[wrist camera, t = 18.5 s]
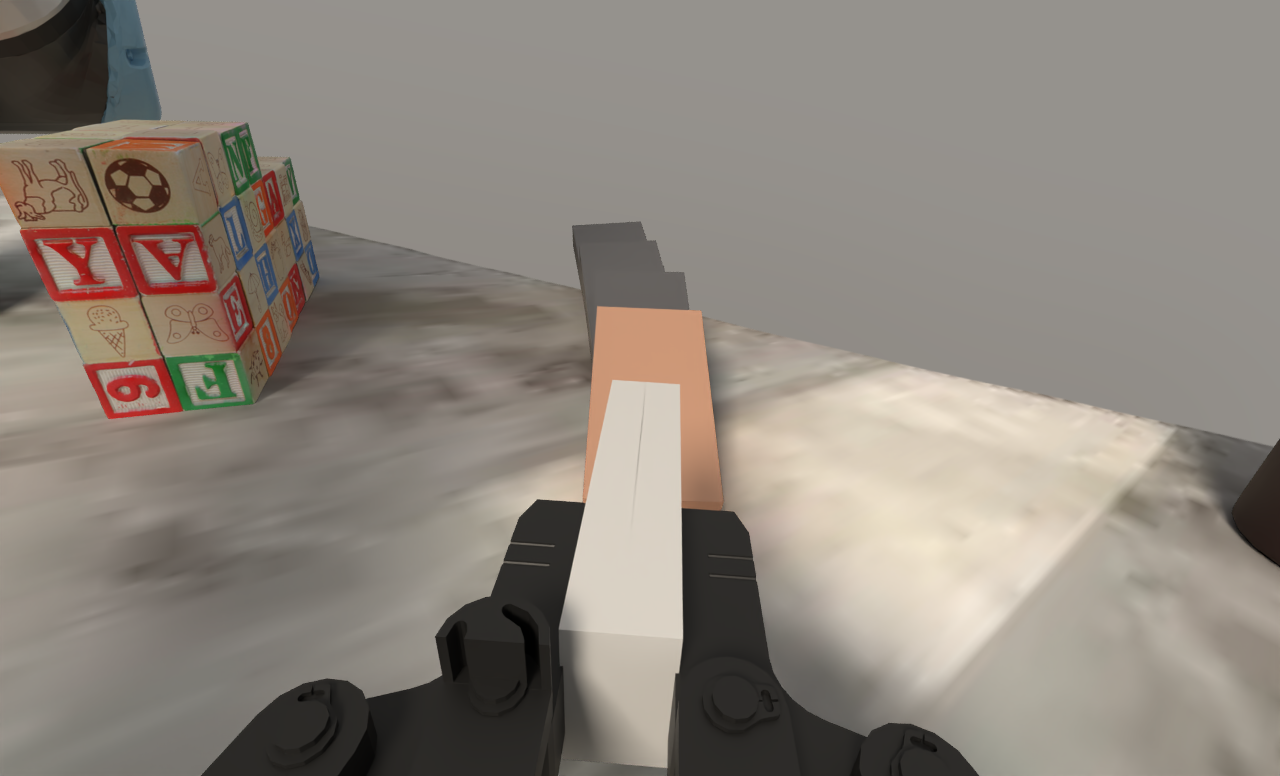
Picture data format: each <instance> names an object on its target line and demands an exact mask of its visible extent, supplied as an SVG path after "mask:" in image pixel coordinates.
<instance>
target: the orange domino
mask: <svg viewBox="0 0 1280 776" xmlns="http://www.w3.org/2000/svg"><path fill="white" fill-rule="evenodd" d="M612 380H623V381H638V382H653V383H668V384H680V431H681V508H689V509H703V510H717V511H721V509H722V506H723V502H724V501H723V493H722V484H721V476H720V467H719V459H718V450H717V441H716V433H715V424H714V416H713V407H712V399H711V390H710V381H709V373H708V364H707V356H706V347H705V339H704V330H703V321H702V313H701V311H695V310H672V309H649V308H625V307H602V306H597V317H596V330H595V343H594V357H593V370H592V383H591V396H590V410H589V423H588V436H587V449H586V463H585V476H584V489H583V503H586V500H587V495H588V491H589V486H590V481H591V477H592V472H593V468H594V463H595V458H596V454H597V449H598V444H599V440H600V435H601V431H602V426H603V421H604V417H605V412H606V407H607V403H608V398H609V394H610V389H611V384H612Z"/></svg>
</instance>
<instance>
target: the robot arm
mask: <svg viewBox="0 0 1280 776" xmlns="http://www.w3.org/2000/svg"><path fill="white" fill-rule="evenodd" d="M160 119H161V106H160V102H159V97H158V94H157V89H156V85H155V81H154V77H153V73H152V69H151V65H150V61H149V57H148V53H147V48H146V44H145V39H144V35H143V31H142V27H141V23H140V18H139V14H138V10H137V5H136V2H135V0H0V134H54V133H59V132H64V131H71V130H73V129H74V128H78V127H84V126H88V125H94V124H102V123H107V122H112V121H117V120H160ZM435 638H436V643H437V648H438V654H439V659H440V665H441V670H442V676H440V677H439V678H437V679H435V680H433V681H431V682H430V683H427V684H424V685H421V686H418V687H415V688H411V689H407V690H403V691H398V692H394V693H389V694H385V695H381V696H376V697H372V698H368V699H365V696H364V694H363V691H362V690H360V689H359V688H357V687H356V686H354V685H353V684H351V683H350V682H348V681H343V680H335V679H323V680H318V681H314V682H309V683H304V684H302V685H300V686H298V687H296V688H294V689H292V690H290V691H288V692H286V693H284V694H282V695H280V696H279V697H278V698H276V699H275V700H274V701H273V702H272V703H271V704H269V705H268V706H267V707H266V708H265V709H263V710H262V711H261V712H260V713H259V714H258V715H257V716H256V717H255V718H254V719H253V720H252V721H251V722H250V723H249V724H248V725H247V726H246V728H245V729H244V730H243V731H242V732H241V733H240V734H239V735H238V736H237V737H236V738H235V739H234V740H233V742H232V743H231V744H230V745H229V746H228V747H227V748H226V749H225V750H224V751H223V752H222V753H221V755H220V756H219V757H218V758H217V759H216V760H215V761H214V762H213V763H212V764H211V765H210V766H209V767H208V769H207V770H206V771H205V772H204V773H203V774H202V775H201V776H558V772H559V766H560V760H561V754H562V748H563V759H567V760H578V761H590V762H602V763H614V764H625V765H637V766H649V767H661V768H667V776H979V775H978V774H977V772H976V771H975V770H974V769H973V768H972V766H971V765H970V764H969V763H968V762H967V761H966V759H965V758H964V757H963V756H962V755H961V753H960V752H959V751H958V750H957V749H955V748H954V747H953V746H951V745H950V744H949V743H947V742H946V741H945V740H943V739H942V738H940V737H939V736H938V735H936V734H935V733H933V732H930V731H927V730H925V729H922V728H920V727H917V726H915V725H912V724H898V723H888V724H886V725H884V726H881V727H879V728H877V729H874V730H872V731H871V733H870V734H869V735H868V737H865V736H862V735H860V734H857V733H855V732H853V731H850V730H848V729H845V728H843V727H840V726H838V725H835V724H833V723H830V722H828V721H825V720H823V719H821V718H819V717H817V716H815V715H814V714H812V713H810V712H808V711H806V710H805V709H804V708H803V707H801V706H800V705H799V704H797V703H796V702H795V701H794V700H793V699H792V698H791V697H790V696H789V695H788V694H787V693H786V691H785V690H784V689H783V688H782V687H781V685H780V683H779V682H778V680H777V678H776V676H775V675H774V673H773V670H772V666H771V663H770V659H769V654H768V648H767V642H766V635H765V629H764V623H763V617H762V611H761V604H760V598H759V592H758V586H757V582H756V573H755V567H754V561H753V555H752V549H751V543H750V536H749V532H748V531H747V529H746V528H745V527H744V525H743V524H742V522H741V521H740V520H739V518H738V517H737V515H736V514H735V513H734V512H730V511H717V510H703V509H689V508H681V431H680V384H668V383H653V382H638V381H623V380H612V384H611V389H610V394H609V398H608V403H607V407H606V412H605V417H604V421H603V426H602V431H601V435H600V440H599V444H598V449H597V454H596V458H595V463H594V468H593V472H592V477H591V481H590V486H589V491H588V495H587V500H586V503H580V502H566V501H552V500H539V499H537V500H536V501H535V502H534V503H533V504H532V505H531V506H530V507H529V508H528V509H527V510H526V511H525V512H524V513H523V514H522V515H521V516H520V517H519V519H518V522H517V525H516V528H515V530H514V533H513V536H512V539H511V544H510V545H509V547H508V550H507V552H506V555H505V558H504V563H503V564H502V566H501V569H500V572H499V574H498V577H497V580H496V583H495V585H494V588H493V591H492V594H491V596H490V597H485V598H482V599H479V600H477V601H474V602H472V603H469V604H466V605H464V606H463V607H462V608H461V609H459V610H458V611H457V612H455V613H454V614H453V615H451V616H450V617H449V618H447V620H446V621H445V623H444V624H443V626H442V627H441V629H440V630H439V632H438V633H437V635H436V636H435Z"/></svg>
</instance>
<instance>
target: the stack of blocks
mask: <svg viewBox="0 0 1280 776" xmlns="http://www.w3.org/2000/svg"><path fill="white" fill-rule="evenodd" d="M0 186H1V189H2V191H3V193H4V195H5V197H6V199H7V202H8V204H9V206H10V208H11V210H12V212H13V214H14V216H15V218H16V220H17V222H18V223H19V225H20V226H21V230H20V233H21V236H22V238H23V240H24V242H25V245H26V247H27V249H28V251H29V254H30V256H31V258H32V260H33V262H34V264H35V266H36V269H37V271H38V272H39V274H40V277H41V279H42V281H43V283H44V284H45V287H46V289H47V291H48V293H49V295H50V297H51V298H52V299H53V300H54V301H55V304H56V307H57V309H58V311H59V313H60V315H61V317H62V319H63V321H64V323H65V325H66V327H67V329H68V331H69V333H70V335H71V338H72V340H73V342H74V344H75V347H76V349H77V351H78V353H79V355H80V357H81V359H82V360H83V362H84V363H83V366H84V369H85V371H86V373H87V375H88V377H89V379H90V381H91V383H92V386H93V388H94V389H95V391H96V393H97V395H98V398H99V400H100V403H101V405H102V408H103V410H104V412H105V414H106V416H107V417H108V419H114V418H123V417H133V416H143V415H153V414H162V413H172V412H181V411H187V410H197V409H207V408H217V407H227V406H237V405H247V404H254V403H255V402H256V401H257V399H258V397H259V395H260V393H261V391H262V389H263V387H264V385H265V383H266V382H267V380H268V377H270V376H271V375H272V373H273V371H274V369H275V367H276V365H277V363H278V361H279V359H280V357H281V355H282V353H283V352H284V350H285V348H286V346H287V344H288V342H289V340H290V338H291V335H292V334H291V332H292V329H293V327H294V326H295V324H296V322H297V320H298V316H299V314H300V312H301V310H302V308H303V306H304V304H305V302H306V301H308V299H309V297H310V295H311V293H312V291H313V289H314V287H315V285H316V283H317V280H318V278H319V272H318V268H317V264H316V260H315V255H314V252H313V246H312V242H311V239H310V238H311V237H310V232H309V228H308V224H307V220H306V215H305V211H304V207H303V203H302V201H301V200H300V199H299V193H298V189H297V185H296V180H295V176H294V171H293V167H292V163H291V159H290V157H257V155H256V151H255V148H254V144H253V140H252V137H251V133H250V129H249V125H248V123H247V122H207V121H206V122H205V121H160V120H117V121H112V122H107V123H102V124H94V125H88V126H84V127H78V128H74V129H73V130H71V131H64V132H59V133H54V134H49V135H44V136H40V137H36V138H33V139H22V140H16V141H11V142H6V143H0Z"/></svg>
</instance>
